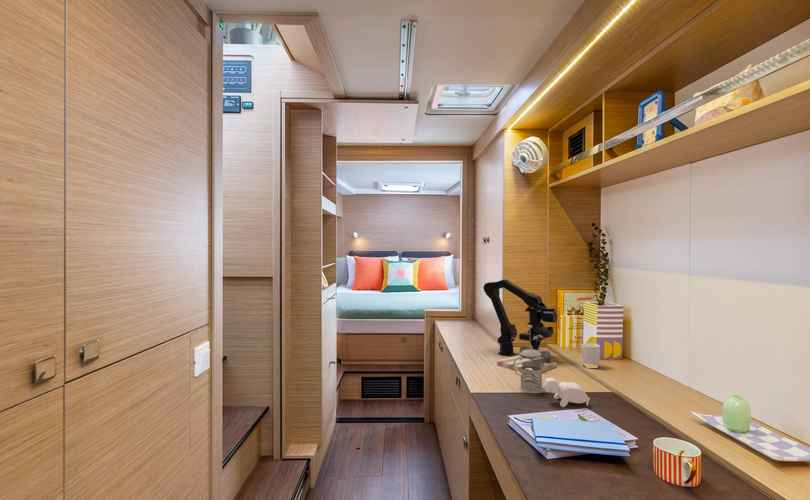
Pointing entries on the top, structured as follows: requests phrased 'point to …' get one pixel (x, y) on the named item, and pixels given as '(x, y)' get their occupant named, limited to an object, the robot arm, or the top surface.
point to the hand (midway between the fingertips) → (536, 352)
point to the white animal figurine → (566, 392)
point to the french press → (530, 372)
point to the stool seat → (518, 364)
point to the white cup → (590, 353)
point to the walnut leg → (543, 353)
